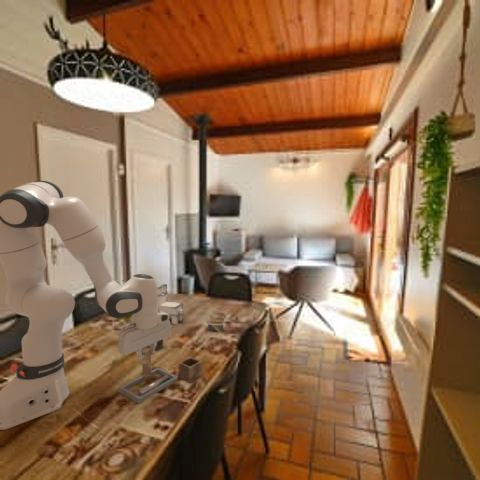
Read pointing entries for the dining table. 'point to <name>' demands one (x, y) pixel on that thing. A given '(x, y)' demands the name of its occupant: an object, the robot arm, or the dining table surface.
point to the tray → (140, 399)
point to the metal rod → (153, 385)
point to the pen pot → (190, 369)
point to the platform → (215, 325)
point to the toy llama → (169, 305)
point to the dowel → (146, 362)
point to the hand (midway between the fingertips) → (146, 356)
